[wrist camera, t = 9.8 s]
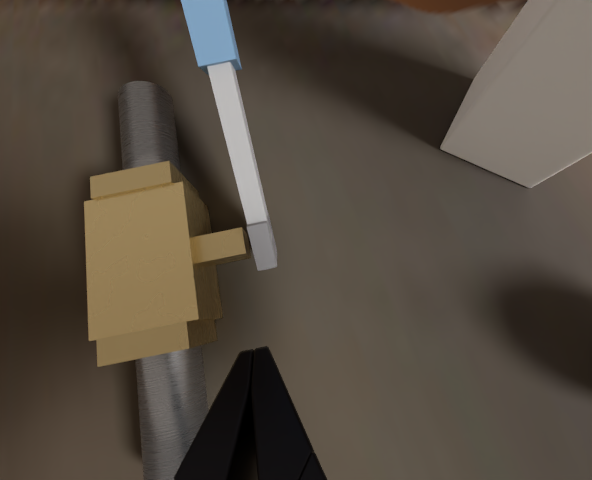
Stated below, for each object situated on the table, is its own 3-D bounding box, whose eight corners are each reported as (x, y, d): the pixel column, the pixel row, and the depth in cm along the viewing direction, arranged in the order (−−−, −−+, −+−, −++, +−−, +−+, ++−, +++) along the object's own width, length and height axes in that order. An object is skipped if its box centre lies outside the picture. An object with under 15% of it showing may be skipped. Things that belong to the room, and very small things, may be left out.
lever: (296, 265, 16) (188, -250, 10) (238, 277, 16) (94, -230, 10) (293, 245, 18) (208, -163, 12) (243, 255, 18) (135, -148, 12)
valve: (288, 451, 16) (280, 497, 12) (146, 479, 16) (91, 534, 12) (229, 100, 22) (210, 50, 17) (121, 122, 22) (77, 77, 18)
